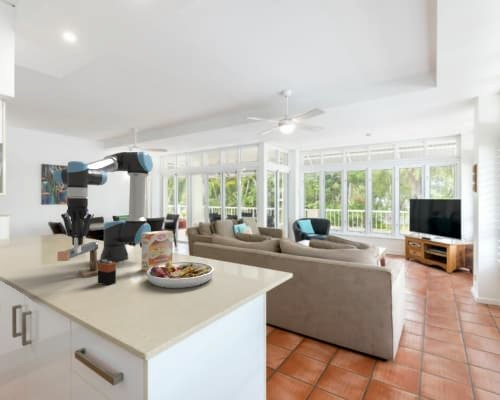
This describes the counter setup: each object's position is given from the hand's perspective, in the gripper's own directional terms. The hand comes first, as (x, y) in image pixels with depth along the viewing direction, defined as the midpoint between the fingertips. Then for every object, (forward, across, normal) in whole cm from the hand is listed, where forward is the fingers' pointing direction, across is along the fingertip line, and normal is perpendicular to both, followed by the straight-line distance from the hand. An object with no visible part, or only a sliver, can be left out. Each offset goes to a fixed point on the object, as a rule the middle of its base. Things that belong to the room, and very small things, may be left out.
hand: (77, 252), depth 119 cm
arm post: (+14, +3, -18) cm, 23 cm away
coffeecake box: (+14, -24, -30) cm, 41 cm away
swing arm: (+2, +3, -6) cm, 7 cm away
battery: (+14, -11, -3) cm, 18 cm away
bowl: (+15, -42, -10) cm, 46 cm away
